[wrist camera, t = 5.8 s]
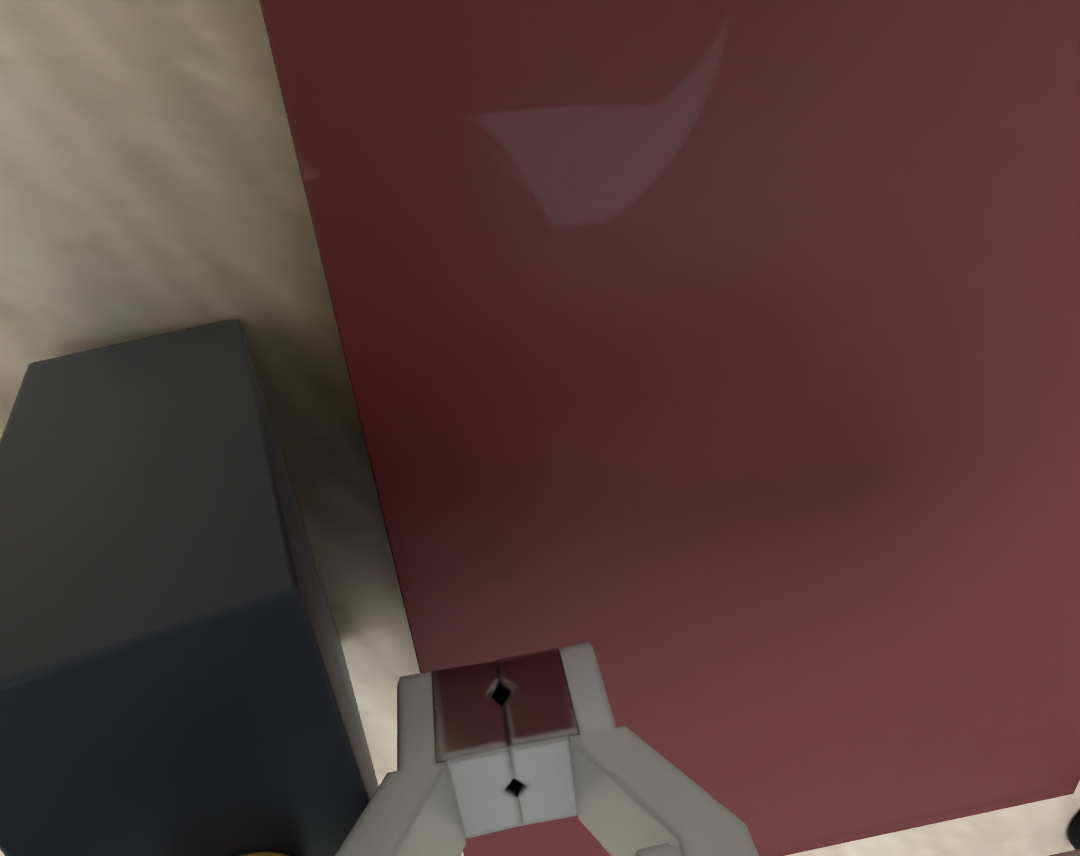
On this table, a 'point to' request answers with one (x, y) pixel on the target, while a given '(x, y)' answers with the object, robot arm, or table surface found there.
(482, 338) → the burgundy book
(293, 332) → the table surface
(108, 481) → the alarm clock
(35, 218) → the table surface
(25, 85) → the table surface
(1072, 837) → the chess piece
